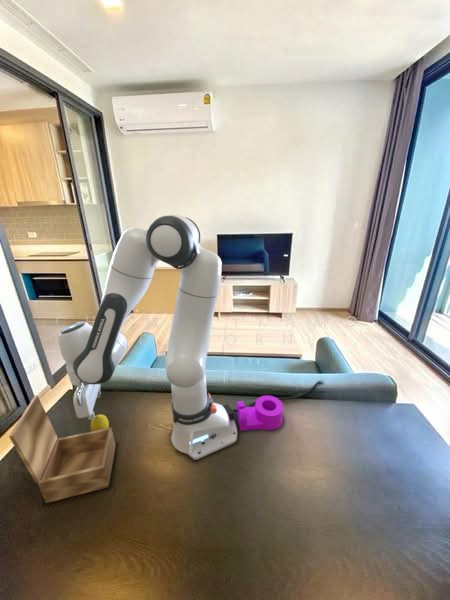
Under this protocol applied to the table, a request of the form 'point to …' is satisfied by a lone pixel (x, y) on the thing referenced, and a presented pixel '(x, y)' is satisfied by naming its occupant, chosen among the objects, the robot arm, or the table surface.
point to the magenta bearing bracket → (260, 414)
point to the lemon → (99, 423)
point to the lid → (34, 438)
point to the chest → (78, 465)
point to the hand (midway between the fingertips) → (95, 406)
